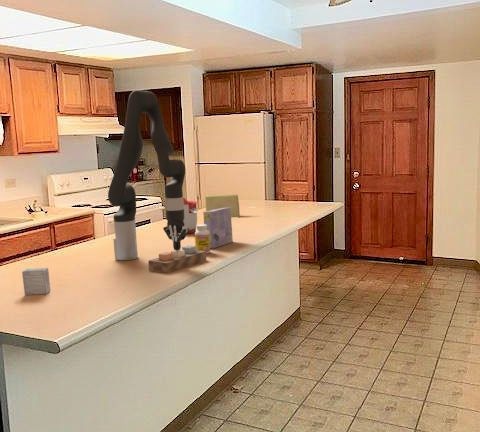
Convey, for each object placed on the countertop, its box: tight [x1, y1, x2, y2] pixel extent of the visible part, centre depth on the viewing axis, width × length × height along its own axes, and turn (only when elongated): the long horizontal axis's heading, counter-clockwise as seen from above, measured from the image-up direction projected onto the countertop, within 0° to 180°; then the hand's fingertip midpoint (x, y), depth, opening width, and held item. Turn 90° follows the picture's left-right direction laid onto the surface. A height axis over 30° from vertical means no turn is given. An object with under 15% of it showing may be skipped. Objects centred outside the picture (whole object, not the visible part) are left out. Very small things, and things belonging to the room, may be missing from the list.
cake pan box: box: [202, 207, 234, 249], centre depth 262 cm, size 19×5×18 cm, turn 149°
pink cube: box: [158, 251, 173, 261], centre depth 219 cm, size 4×4×4 cm
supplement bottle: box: [194, 223, 211, 254], centre depth 246 cm, size 7×7×13 cm
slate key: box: [181, 245, 196, 254], centre depth 230 cm, size 4×4×4 cm
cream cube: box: [170, 249, 185, 258], centre depth 224 cm, size 4×4×4 cm
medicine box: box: [21, 267, 51, 296], centre depth 192 cm, size 8×4×9 cm, turn 92°
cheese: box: [204, 193, 241, 218], centre depth 354 cm, size 22×10×15 cm, turn 67°
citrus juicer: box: [183, 197, 199, 234], centre depth 301 cm, size 16×17×20 cm
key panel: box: [147, 250, 207, 274], centre depth 224 cm, size 24×10×4 cm, turn 143°
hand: (177, 249), depth 224 cm, fingers closed
